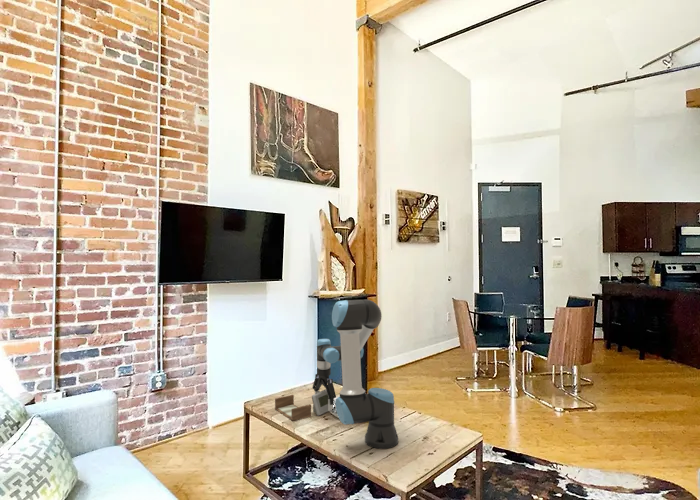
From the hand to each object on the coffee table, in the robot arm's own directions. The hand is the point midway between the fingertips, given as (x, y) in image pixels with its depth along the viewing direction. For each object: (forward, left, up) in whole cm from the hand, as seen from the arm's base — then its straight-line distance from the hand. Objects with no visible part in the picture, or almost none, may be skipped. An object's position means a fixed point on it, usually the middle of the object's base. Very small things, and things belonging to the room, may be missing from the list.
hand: (323, 406), depth 224 cm
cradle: (+8, +15, -2) cm, 17 cm away
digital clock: (0, 0, -3) cm, 3 cm away
